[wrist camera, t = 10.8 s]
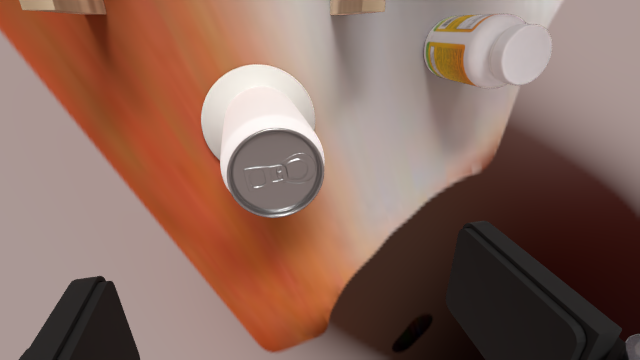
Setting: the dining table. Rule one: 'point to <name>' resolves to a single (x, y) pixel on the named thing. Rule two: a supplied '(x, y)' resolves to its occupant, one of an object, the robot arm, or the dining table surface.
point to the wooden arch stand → (341, 3)
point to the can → (270, 154)
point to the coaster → (241, 81)
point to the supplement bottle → (487, 50)
